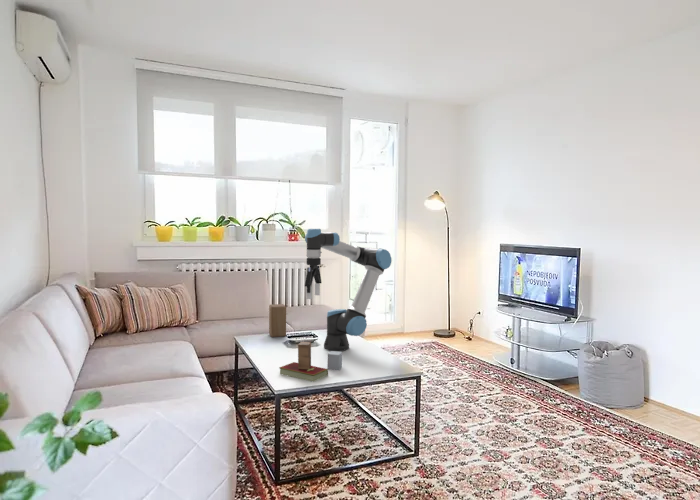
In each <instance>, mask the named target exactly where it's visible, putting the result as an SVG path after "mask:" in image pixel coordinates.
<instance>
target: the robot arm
mask: <svg viewBox="0 0 700 500" xmlns="http://www.w3.org/2000/svg"><path fill="white" fill-rule="evenodd" d="M340 238H341V237H340V235H339V233H337V232H333V231H331V232H330V231H327V232H326V231H322V230H321V228H308V229H307V231H306V234H305V235H304V241H305V243H306V265H307V266H308V267H307V268H306V276H305V283H304V287H306V297H305V298H306V300H312V299H313V287H312V285H313V281H314V296H320V295H321V294H320V293H321V288H320V287H321V284H322V282H323V281H322V277H321V270H320V268H321V267H320V266H321V264H322V263H321V258H320V257H321V254H322V249H323V250H326V251H329V252H332V253H334V254H337V255H341V256H343V257H345V258H348V259H349V260H350V261H351V262H354V263H356V264H359V265H361V266H364V268H365V272H364V273H363V276H362V279H361V281H360V284H359V287H358V289H357V291H356V294H355V296H354V298H353V301H352V304H351V306H350V307H347V309H345V308H339V309H336V308H335V309H330V310H327V313H326V337H325V338H324V339H325V340H324V343H323V349H324V350H326V351H329V352H330V351H336V352H342V351H343V352H344V351H347V350H350V343H349V340H348V337H347V335H349V336H353V337H358V336H361V335H362V334H363V333H364V332H365V331H366V329H367V326H368V325H367V324H368V323H367V319H366V317H367V315H366V310H367V308H368V305H369V302H370V301H371V297H372V296H373V292H374V290H375V287H376V285H377V282H378V280H379V277H380V276H381V275H383V274H384V271H385V270H387V269H389V268H390V267H391V265H392V256H391V253H390V251H388V250H387V249H386V248H385V249H384V248H374V247H373V248H372V247H361V246H357V245H350V244H348V243H346V242H344V241H341V240H340Z"/></svg>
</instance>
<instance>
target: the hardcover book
mask: <svg viewBox="0 0 700 500" xmlns="http://www.w3.org/2000/svg"><path fill="white" fill-rule="evenodd" d="M278 369H279V374H280V375H282V374H283V376H287V375H288V376H287V377H291V378H295V379H300V380H304V381H310V382H316V381H318V380H321V379H322V378H325V377H326V376H329V370H328V369H327V368H324V367H320V366H319V367H318V366H314V365H311V367H310V368H309V369H298V362H295V361H292V362H290V363H288V364H285V365H282V366H279V367H278Z"/></svg>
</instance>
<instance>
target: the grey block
mask: <svg viewBox="0 0 700 500" xmlns="http://www.w3.org/2000/svg"><path fill="white" fill-rule="evenodd" d="M326 365H327V366H326V367H327V368H326V369H328V371H340V370H341V369H342V367H343V352H342V351H330V350H329V352H327V364H326Z"/></svg>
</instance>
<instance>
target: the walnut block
mask: <svg viewBox="0 0 700 500" xmlns="http://www.w3.org/2000/svg"><path fill="white" fill-rule="evenodd" d="M297 363H298V369H309V368H310V367H311V366H312V342H311V341H310V342H309V341H307V342H306V341H300V343H298V344H297Z"/></svg>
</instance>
